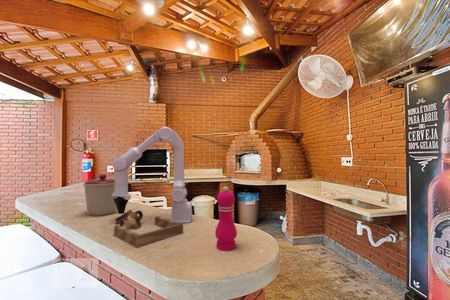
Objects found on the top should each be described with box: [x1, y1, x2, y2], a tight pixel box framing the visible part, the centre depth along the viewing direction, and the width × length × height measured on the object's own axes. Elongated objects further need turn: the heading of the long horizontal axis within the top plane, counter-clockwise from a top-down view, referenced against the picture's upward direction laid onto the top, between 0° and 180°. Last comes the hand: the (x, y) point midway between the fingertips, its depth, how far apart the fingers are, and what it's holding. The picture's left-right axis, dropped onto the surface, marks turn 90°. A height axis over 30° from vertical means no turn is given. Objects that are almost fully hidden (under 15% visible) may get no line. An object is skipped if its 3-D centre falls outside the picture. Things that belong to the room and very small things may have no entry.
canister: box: [82, 173, 117, 217], centre depth 122 cm, size 18×18×21 cm
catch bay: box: [113, 215, 184, 248], centre depth 89 cm, size 18×19×4 cm
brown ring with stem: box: [114, 209, 144, 230], centre depth 99 cm, size 12×10×8 cm
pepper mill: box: [214, 186, 238, 251], centre depth 77 cm, size 7×7×20 cm
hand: (121, 213), depth 106 cm, fingers closed
